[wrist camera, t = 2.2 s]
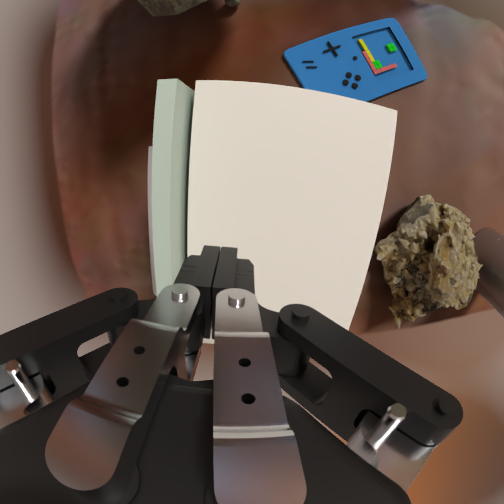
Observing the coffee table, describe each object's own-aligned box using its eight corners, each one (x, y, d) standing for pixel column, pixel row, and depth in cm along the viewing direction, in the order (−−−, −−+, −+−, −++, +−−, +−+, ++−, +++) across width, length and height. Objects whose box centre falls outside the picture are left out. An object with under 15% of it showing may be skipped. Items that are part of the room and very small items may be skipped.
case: (339, 118, 24) (397, 110, 13) (314, 277, 32) (341, 348, 21) (219, 103, 24) (196, 80, 13) (209, 270, 31) (190, 341, 20)
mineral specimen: (344, 226, 29) (381, 266, 20) (430, 171, 26) (486, 191, 17) (385, 311, 34) (416, 361, 25) (456, 263, 31) (497, 299, 22)
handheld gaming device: (281, 51, 21) (396, 15, 18) (280, 54, 22) (391, 18, 19) (324, 121, 24) (430, 77, 21) (321, 121, 25) (425, 78, 22)
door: (213, 106, 23) (177, 78, 11) (205, 270, 30) (178, 359, 18) (189, 105, 23) (133, 81, 11) (184, 268, 30) (147, 355, 18)
